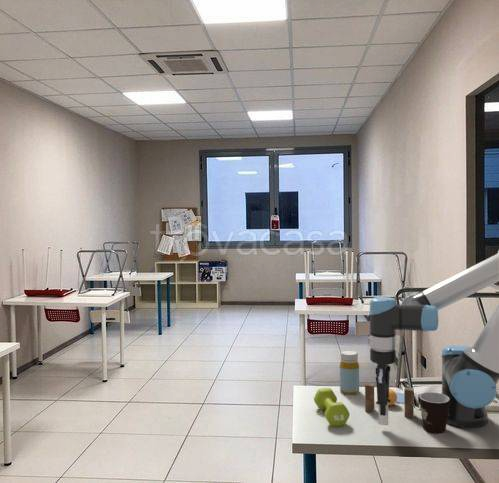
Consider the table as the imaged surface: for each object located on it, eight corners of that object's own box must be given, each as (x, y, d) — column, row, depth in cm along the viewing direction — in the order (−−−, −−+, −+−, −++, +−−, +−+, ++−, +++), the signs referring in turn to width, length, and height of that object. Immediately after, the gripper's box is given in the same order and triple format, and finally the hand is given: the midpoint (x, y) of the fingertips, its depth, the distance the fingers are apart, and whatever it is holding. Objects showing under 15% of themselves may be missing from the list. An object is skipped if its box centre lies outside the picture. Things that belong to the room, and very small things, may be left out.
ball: (397, 409, 165) (398, 401, 170) (395, 393, 165) (397, 386, 170) (380, 407, 167) (381, 400, 172) (379, 392, 167) (380, 385, 172)
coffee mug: (452, 436, 145) (452, 403, 144) (421, 435, 146) (421, 402, 146) (444, 419, 156) (444, 389, 155) (415, 418, 158) (415, 388, 157)
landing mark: (408, 394, 177) (408, 393, 177) (406, 403, 169) (406, 403, 169) (383, 391, 181) (383, 390, 181) (379, 400, 173) (379, 400, 173)
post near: (413, 414, 160) (413, 387, 160) (412, 417, 158) (412, 390, 157) (405, 413, 161) (405, 386, 161) (404, 416, 159) (404, 389, 158)
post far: (374, 409, 165) (374, 383, 165) (373, 412, 163) (372, 386, 162) (366, 408, 166) (366, 382, 166) (365, 411, 164) (365, 385, 163)
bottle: (351, 397, 176) (350, 356, 175) (336, 391, 182) (335, 352, 181) (363, 392, 181) (362, 352, 180) (348, 387, 186) (347, 348, 185)
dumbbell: (351, 427, 153) (350, 404, 153) (326, 429, 152) (326, 406, 152) (335, 406, 169) (335, 385, 169) (312, 408, 168) (312, 387, 168)
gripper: (373, 341, 156) (374, 413, 158) (366, 353, 144) (367, 431, 146) (398, 343, 153) (398, 417, 155) (392, 355, 141) (393, 435, 143)
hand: (383, 423), depth 150 cm, fingers closed
